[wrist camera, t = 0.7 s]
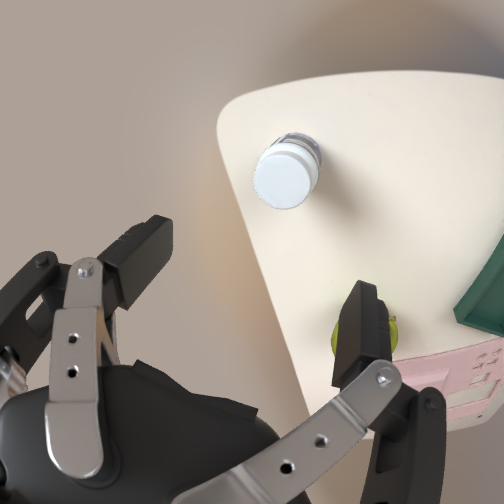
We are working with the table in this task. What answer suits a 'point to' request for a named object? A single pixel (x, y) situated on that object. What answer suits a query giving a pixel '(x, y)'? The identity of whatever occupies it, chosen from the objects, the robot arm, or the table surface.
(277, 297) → the table surface
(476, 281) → the tray
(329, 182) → the table surface
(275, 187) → the pill bottle
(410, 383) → the panel
